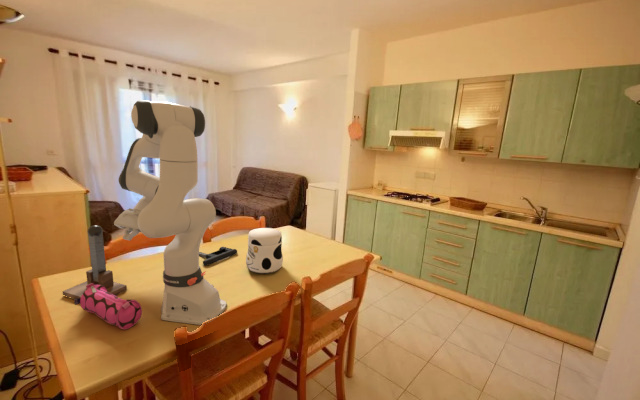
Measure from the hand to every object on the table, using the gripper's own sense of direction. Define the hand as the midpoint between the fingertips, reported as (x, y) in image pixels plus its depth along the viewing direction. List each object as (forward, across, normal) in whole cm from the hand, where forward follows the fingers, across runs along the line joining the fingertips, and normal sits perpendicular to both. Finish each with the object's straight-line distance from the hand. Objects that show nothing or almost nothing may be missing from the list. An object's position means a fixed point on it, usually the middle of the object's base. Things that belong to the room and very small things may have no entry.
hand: (126, 239), depth 118 cm
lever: (+17, 0, 0) cm, 17 cm away
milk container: (-10, +47, +34) cm, 59 cm away
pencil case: (+28, +19, -4) cm, 34 cm away
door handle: (-11, +17, +36) cm, 41 cm away
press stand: (+22, 0, +2) cm, 22 cm away
